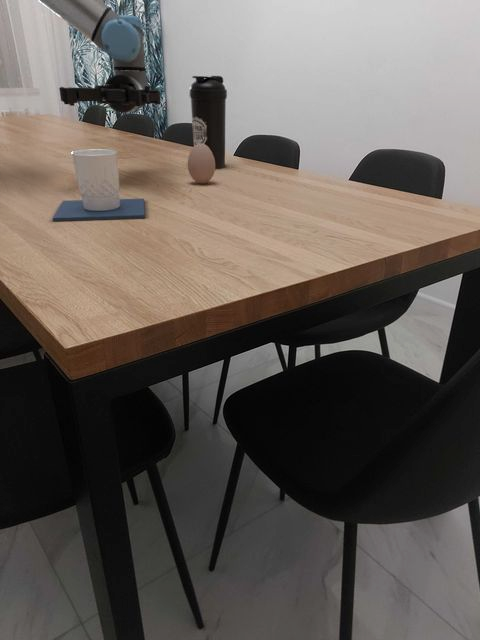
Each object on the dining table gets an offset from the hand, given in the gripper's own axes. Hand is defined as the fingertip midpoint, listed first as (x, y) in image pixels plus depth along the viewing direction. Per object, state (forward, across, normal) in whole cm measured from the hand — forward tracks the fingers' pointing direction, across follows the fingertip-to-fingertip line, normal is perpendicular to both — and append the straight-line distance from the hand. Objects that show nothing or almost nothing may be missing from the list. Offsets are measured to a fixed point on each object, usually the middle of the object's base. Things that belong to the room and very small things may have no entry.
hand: (101, 97), depth 96 cm
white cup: (+10, 0, -19) cm, 21 cm away
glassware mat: (+10, 0, -19) cm, 22 cm away
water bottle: (-44, -18, -19) cm, 51 cm away
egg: (-19, -17, -19) cm, 32 cm away
